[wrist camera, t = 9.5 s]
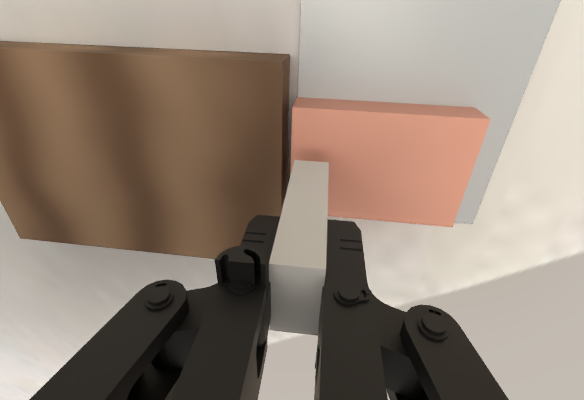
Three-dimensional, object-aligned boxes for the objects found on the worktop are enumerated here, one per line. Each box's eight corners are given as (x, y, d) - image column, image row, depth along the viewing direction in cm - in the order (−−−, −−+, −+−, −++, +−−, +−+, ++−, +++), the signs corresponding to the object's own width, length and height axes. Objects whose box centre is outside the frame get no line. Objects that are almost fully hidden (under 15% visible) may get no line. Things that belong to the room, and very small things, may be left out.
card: (293, 194, 20) (289, 212, 18) (296, 97, 17) (292, 107, 15) (442, 207, 19) (452, 227, 18) (474, 107, 16) (490, 119, 14)
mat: (294, 205, 21) (293, 208, 21) (302, -18, 15) (301, -18, 14) (470, 221, 20) (472, 224, 20) (560, -11, 14) (565, -12, 13)
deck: (48, 217, 24) (20, 238, 22) (-33, 39, 18) (-83, 44, 16) (285, 241, 22) (280, 265, 20) (289, 54, 16) (282, 62, 14)
